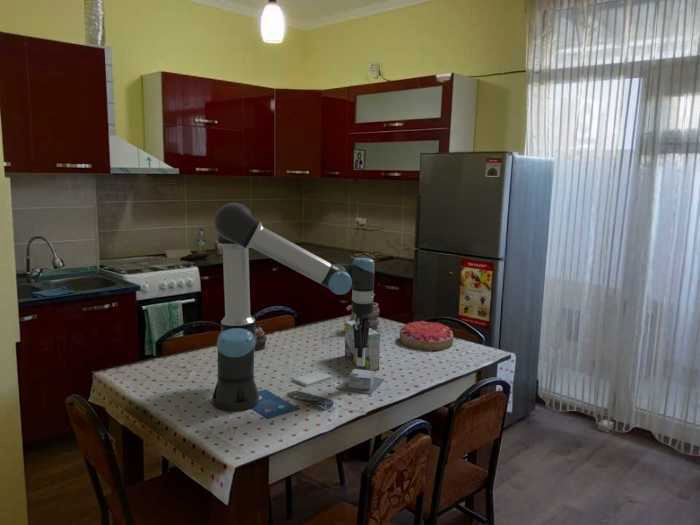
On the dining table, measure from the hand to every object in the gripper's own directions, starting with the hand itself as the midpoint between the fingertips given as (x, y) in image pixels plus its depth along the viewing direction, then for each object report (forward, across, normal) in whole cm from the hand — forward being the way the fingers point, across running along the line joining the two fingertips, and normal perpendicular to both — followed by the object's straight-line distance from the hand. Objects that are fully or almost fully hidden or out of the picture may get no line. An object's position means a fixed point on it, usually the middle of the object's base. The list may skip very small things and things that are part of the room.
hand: (360, 365), depth 201 cm
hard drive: (+8, -2, +18) cm, 20 cm away
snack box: (+8, +24, +8) cm, 26 cm away
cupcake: (+8, +22, +56) cm, 61 cm away
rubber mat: (+7, +1, 0) cm, 7 cm away
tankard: (+8, +66, +23) cm, 70 cm away
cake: (+8, +65, -10) cm, 66 cm away
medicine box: (+5, +4, 0) cm, 6 cm away
